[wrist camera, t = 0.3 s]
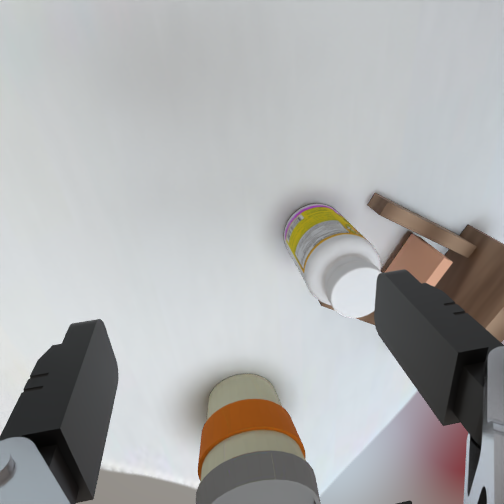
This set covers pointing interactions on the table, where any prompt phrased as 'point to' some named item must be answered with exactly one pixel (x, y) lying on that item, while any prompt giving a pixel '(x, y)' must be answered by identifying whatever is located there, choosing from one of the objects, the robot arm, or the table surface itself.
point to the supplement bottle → (333, 259)
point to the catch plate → (421, 261)
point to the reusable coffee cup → (252, 448)
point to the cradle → (458, 266)
